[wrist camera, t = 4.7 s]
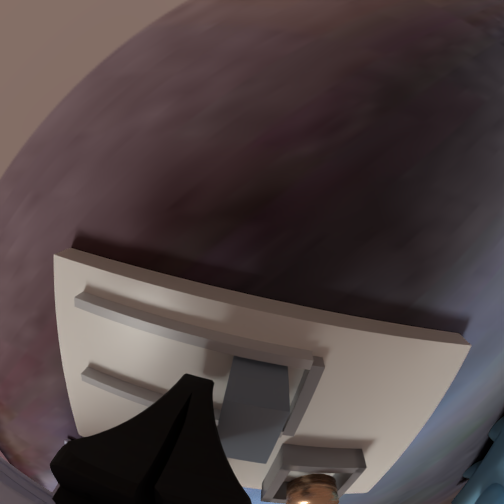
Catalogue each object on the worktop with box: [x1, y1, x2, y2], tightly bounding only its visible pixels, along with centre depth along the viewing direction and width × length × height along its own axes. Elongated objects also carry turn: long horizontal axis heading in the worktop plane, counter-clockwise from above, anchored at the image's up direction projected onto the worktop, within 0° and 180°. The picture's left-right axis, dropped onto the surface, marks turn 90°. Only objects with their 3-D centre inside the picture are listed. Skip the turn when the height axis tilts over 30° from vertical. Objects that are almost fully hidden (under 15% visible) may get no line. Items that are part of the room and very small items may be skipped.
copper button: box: [286, 474, 339, 504], centre depth 12 cm, size 3×3×2 cm
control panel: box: [54, 248, 472, 503], centre depth 14 cm, size 14×22×3 cm, turn 78°
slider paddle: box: [217, 356, 290, 464], centre depth 11 cm, size 4×2×3 cm, turn 168°
